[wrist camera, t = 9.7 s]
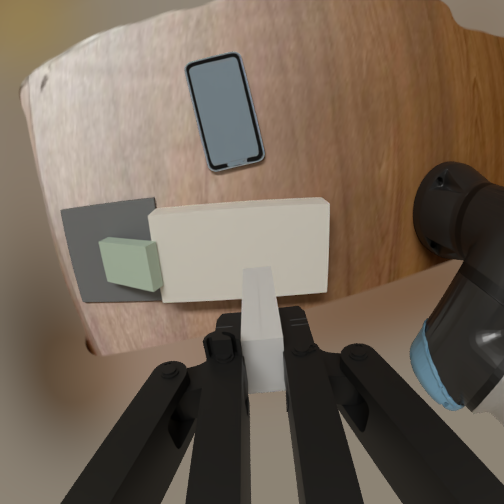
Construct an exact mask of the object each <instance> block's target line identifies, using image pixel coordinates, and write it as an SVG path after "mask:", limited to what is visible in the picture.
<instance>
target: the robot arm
mask: <svg viewBox="0 0 504 504" xmlns="http://www.w3.org/2000/svg"><path fill="white" fill-rule="evenodd" d="M413 220H414V226H415V230H416V233H417V236H418V238H419V240H420V241H421V243H422V244H423V245H424V246H425V247H426V248H427V249H429V250H430V251H431V252H433V253H434V254H436V255H438V256H440V257H443V258H449V259H457V260H464V262H463V264H462V265H461V267H460V269H459V270H458V272H457V274H456V276H455V277H454V279H453V280H452V282H451V284H450V285H449V287H448V289H447V290H446V292H445V294H444V295H443V297H442V298H441V300H440V302H439V303H438V305H437V306H436V308H435V309H434V311H433V313H432V314H431V315H430V317H429V318H427V319H426V320H425V321H424V323H423V327H422V329H421V330H420V332H419V333H418V335H417V336H416V338H415V339H414V341H413V343H412V345H411V348H410V360H411V365H412V368H413V371H414V373H415V375H416V377H417V379H418V380H419V382H420V384H421V385H422V387H423V388H424V389H425V391H426V392H427V393H428V394H429V395H430V396H431V397H432V398H433V399H434V400H435V401H436V402H437V403H438V404H442V405H443V406H444V408H446V409H448V410H451V411H456V410H458V409H461V408H463V407H464V406H466V407H467V408H468V409H469V410H470V411H471V412H472V413H474V414H475V413H483V412H490V413H491V414H492V415H493V416H494V417H495V418H496V419H497V420H498V421H499V422H500V423H501V424H502V425H503V426H504V187H503V186H499V185H496V184H493V183H490V182H489V181H488V180H487V179H486V178H485V177H484V176H482V175H481V174H480V173H479V172H478V171H476V170H475V169H474V168H472V167H471V166H469V165H466V164H463V163H458V162H444V163H441V164H439V165H437V166H436V167H434V168H433V169H432V170H431V171H430V172H429V173H428V174H427V175H426V176H425V178H424V179H423V181H422V182H421V184H420V186H419V188H418V191H417V194H416V197H415V201H414V208H413ZM203 345H204V349H205V353H206V358H207V360H206V362H204V363H202V364H200V365H197V366H194V367H190V368H186V366H185V365H184V364H183V363H181V362H177V361H169V362H165V363H162V364H160V365H159V366H157V367H156V368H155V369H154V371H153V372H152V373H151V375H150V376H149V378H148V379H147V380H146V382H145V383H144V385H143V386H142V387H141V389H140V391H139V392H138V393H137V395H136V396H135V397H134V399H133V400H132V402H131V403H130V404H129V406H128V407H127V409H126V410H125V412H124V413H123V414H122V416H121V417H120V419H119V420H118V421H117V423H116V424H115V426H114V427H113V429H112V430H111V431H110V433H109V435H108V436H107V437H106V439H105V440H104V441H103V443H102V444H101V446H100V447H99V449H98V450H97V451H96V453H95V454H94V456H93V457H92V459H91V460H90V462H89V463H88V464H87V466H86V467H85V469H84V470H83V472H82V473H81V474H80V476H79V477H78V479H77V480H76V482H75V483H74V485H73V486H72V488H71V489H70V491H69V492H68V494H67V495H66V496H65V498H64V499H63V501H62V502H61V504H161V502H162V500H163V498H164V496H165V493H166V491H167V490H168V488H169V485H170V484H171V482H172V479H173V477H174V475H175V473H176V471H177V469H178V467H179V465H180V463H181V461H182V459H183V457H184V454H185V452H186V450H187V448H188V446H189V444H190V442H191V440H192V438H193V436H194V433H195V437H194V444H193V451H192V458H191V465H190V473H189V480H188V488H187V495H186V504H251V474H250V473H251V472H250V413H249V412H250V410H249V397H248V393H249V394H252V393H264V392H275V391H285V390H286V404H287V412H288V417H289V424H290V432H291V440H292V448H293V456H294V464H295V472H296V480H297V489H298V497H299V504H364V502H363V498H362V494H361V490H360V487H359V483H358V479H357V475H356V472H355V468H354V464H353V461H352V457H351V453H350V450H349V446H348V442H347V439H346V435H345V432H344V429H343V425H342V421H341V418H340V414H339V411H340V412H341V414H342V415H343V417H344V418H345V420H346V421H347V423H348V424H349V426H350V427H351V429H352V430H353V432H354V433H355V435H356V436H357V438H358V439H359V441H360V442H361V443H362V445H363V447H364V448H365V449H366V451H367V452H368V454H369V455H370V457H371V458H372V459H373V461H374V463H375V464H376V466H377V467H378V468H379V470H380V471H381V473H382V474H383V476H384V477H385V479H386V480H387V482H388V483H389V484H390V486H391V487H392V489H393V490H394V492H395V493H396V495H397V496H398V497H399V499H400V500H401V502H402V503H403V504H504V485H503V484H502V483H501V482H500V481H499V480H498V479H497V478H496V477H495V475H494V474H493V473H492V472H491V471H490V470H489V469H488V468H487V467H486V466H485V464H484V463H483V462H482V461H481V460H480V459H479V458H478V457H477V456H476V455H475V454H474V453H473V452H472V450H470V448H469V447H468V446H467V445H466V444H465V443H464V442H463V441H462V440H461V439H460V438H459V437H458V436H457V435H456V433H455V432H453V430H452V429H451V428H450V427H449V426H448V425H447V424H446V423H445V422H444V421H443V420H442V419H441V418H440V417H439V416H438V415H437V414H436V412H435V411H434V410H433V409H432V408H431V407H430V406H429V405H428V404H427V403H426V402H425V401H424V400H423V399H422V398H421V397H420V396H419V395H418V394H417V393H416V392H415V391H414V390H413V389H412V388H411V387H410V386H409V384H407V382H406V381H405V380H404V379H403V378H402V377H401V376H400V375H399V374H398V373H397V372H396V371H395V370H394V369H393V368H392V367H391V366H390V365H389V364H388V363H387V362H386V361H385V360H384V359H383V358H382V357H381V356H380V355H379V354H378V353H377V352H376V351H375V350H374V349H373V348H372V347H370V346H368V345H365V344H357V343H356V344H351V345H348V346H346V347H344V349H343V350H342V351H341V353H329V352H325V351H322V350H321V349H319V347H318V345H317V344H315V343H314V341H313V337H312V334H311V331H310V327H309V324H308V321H307V318H306V315H305V311H304V310H302V309H301V308H300V307H299V306H293V307H283V308H278V305H277V299H276V293H275V287H274V282H273V276H272V270H271V266H267V267H256V268H246V269H243V283H242V312H238V313H226V314H222V315H221V316H220V317H219V318H218V319H217V323H216V330H215V331H214V332H212V333H209V334H208V335H207V336H206V337H205V338H204V340H203ZM338 410H339V411H338Z"/></svg>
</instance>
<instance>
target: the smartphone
mask: <svg viewBox="0 0 504 504" xmlns="http://www.w3.org/2000/svg"><path fill="white" fill-rule="evenodd" d="M185 75H186V79H187V83H188V87H189V92H190V96H191V100H192V104H193V108H194V112H195V117H196V121H197V125H198V129H199V134H200V138H201V142H202V145H203V149H204V153H205V157H206V161H207V165H208V167H209V169H210V170H212V171H215V172H217V171H221V170H225V169H229V168H233V167H238V166H242V165H246V164H251V163H255V162H259V161H261V160H262V159H263V158H264V155H265V152H264V147H263V143H262V139H261V135H260V129H259V125H258V121H257V117H256V114H255V110H254V105H253V101H252V97H251V93H250V89H249V85H248V81H247V77H246V74H245V70H244V66H243V62H242V58H241V56H240V54H239V53H237V52H228V53H224V54H219V55H215V56H211V57H207V58H203V59H199V60H196V61H192V62H189V63H188V64H187V65H186V66H185Z"/></svg>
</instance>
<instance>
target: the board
mask: <svg viewBox="0 0 504 504" xmlns="http://www.w3.org/2000/svg"><path fill="white" fill-rule="evenodd" d="M148 221H149V228H150V235H151V241H156V247H157V253H158V259H159V265H160V270H161V276H162V281H163V286H161V287H160V291H161V296H162V301H163V303H173V302H196V301H216V300H233V299H242V283H243V269H246V268H256V267H267V266H271V270H272V276H273V282H274V287H275V293H276V296H289V295H301V294H312V293H323V292H327V281H328V259H329V222H330V203H328V202H327V201H326V200H324V199H323V198H322V197H315V198H291V199H271V200H254V201H238V202H224V203H211V204H198V205H187V206H176V207H165V208H156V209H155V210H154V211H152V212H151V213H150V214H149V215H148Z"/></svg>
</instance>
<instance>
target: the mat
mask: <svg viewBox="0 0 504 504" xmlns="http://www.w3.org/2000/svg"><path fill="white" fill-rule="evenodd" d="M155 209H156V206H155V198H145V199H136V200H128V201H120V202H112V203H104V204H97V205H90V206H83V207H76V208H70V209H64V210H61V216H62V221H63V226H64V231H65V236H66V240H67V245H68V249H69V253H70V257H71V261H72V265H73V269H74V273H75V277H76V280H77V284H78V287H79V291H80V294H81V297H82V301H83V302H120V301H155V300H162V296H161V291H160V288H159V289H157V290H156V291H155V292H152V291H147V290H142V289H138V288H133V287H129V286H125V285H120V284H116V283H112V282H108V281H107V277H106V273H105V269H104V265H103V260H102V256H101V251H100V247H99V241H101V240H103V239H105V238H107V237H114V238H125V239H136V240H147V241H151V235H150V228H149V221H148V215H149V214H150V213H151V212H152V211H154V210H155Z"/></svg>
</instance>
